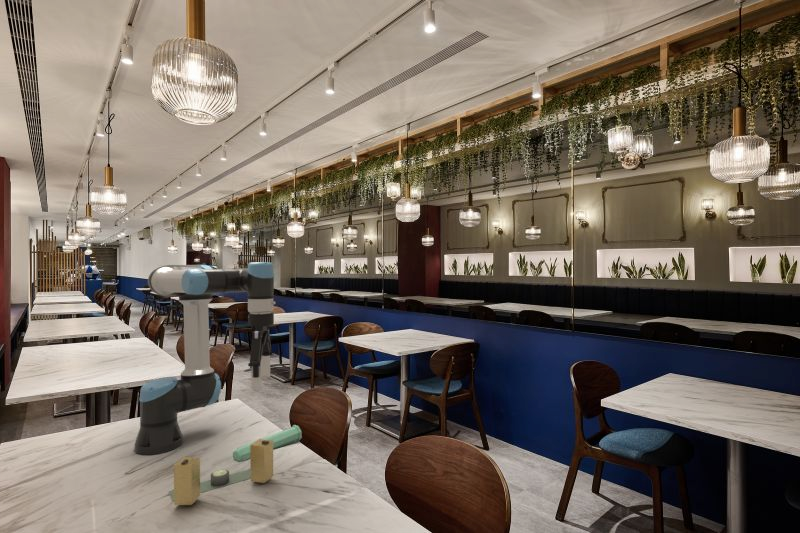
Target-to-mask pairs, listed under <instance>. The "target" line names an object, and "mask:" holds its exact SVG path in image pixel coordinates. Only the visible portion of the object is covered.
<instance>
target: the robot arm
mask: <svg viewBox="0 0 800 533" xmlns="http://www.w3.org/2000/svg"><path fill="white" fill-rule="evenodd" d="M274 278H275V273H274V264H273V263H272V262H269V261H267V262H265V261H261V262H259V261H258V262H255V261H254V262H248V264H247V268H243V267H237V268H213V267H212V266H210V265H206V264H168V265H162V266H159V267H157V268H155V269H153V270H152V271H151V272H150V274H148V278H147V285H148V288H149V289H150V291H152V292H153V293H154V294H157V295H158V296H163V297H178V302H179V303H181V305H183V340H184V341H183V343H184V369H183V370H182V372H181V373H180V379H177V377H175V376H167V377H159V378H155V379H153V380H150V381H147V382H146V383H144V384H143V385H142V386H141V388H140V393H139V399H138V400H139V421H140V422H139V424H140V425H139V430H138V433H137V436H136V439H135V440H134V453H137V454H138V455H145V456H146V455H148V456H149V455H151V456H152V455H156V454H157V455H158V454H162V453H167V452H169V451H173V450H175V449H177V448H179V447H180V446H181V445H183V443H184V436H183V433H182V430H181V428H180V425H179V422H178V413H179V414H180V413H182V412H187V411H192V410H195V409H199V408H206V407H207V406H210V405H214V404H215V403H216V402H217V401H218V399H220V395H221V391H222V381H221V379H220V376H219V374H218V373H215V369H214V368H212V367H211V365H210V364H211V360H210V358H211V357H210V324H209V323H210V321H209V304H210V302H211V301H212V300H213V295H216V294H227V293H228V294H229V293H231V294H232V293H233V294H234V293H247V311H248V315H247V323H248V324H247V325H248V326H249V327H253V328H255V329H254V331H251V346H250V355H249V356H250V357H249V363H248V364H247V365H248V367H251V370H250V371H251V389H262V387H263V386H262V382H263V380H262V378H263V377H265V378H266V377H271V356H273V354H274V352H273V351H272V345H271V334H270V327H271V326H273V325H274V323H275V317H274V316H275V315H274V312H273V311H274V308H275V307H274V305H276V304H277V303H276V301H274V296H275V292H274V289H275V287H274V286H275V285H274V283H275V282H274V280H275V279H274Z"/></svg>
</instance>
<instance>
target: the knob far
mask: <svg viewBox="0 0 800 533" xmlns="http://www.w3.org/2000/svg"><path fill="white" fill-rule="evenodd" d="M253 442H254V443H253V444H251V445H250V458H249V459H250V463H249V464H250V468H249V469H250V472H251V479H250V482H255V483H258V484H265V483H267V482H268V481H269V480H270V479H271V478H272V477H273V476H274V450H273V440H264V439H263V438H259V439H257V440H256V442H255V441H253Z"/></svg>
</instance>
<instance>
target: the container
mask: <svg viewBox="0 0 800 533" xmlns="http://www.w3.org/2000/svg"><path fill="white" fill-rule="evenodd" d="M302 436H303V434H302V429H301V428H300V426H299V425H296V424H293V425H292V426H291V427H290V428H287V429H284V430H281V431H279V432H277V433H274V434H272V435H268V436H266V437H263V438H262V439H264V440H273V451H274V450H277V449H280V448H283V447H285V446H287V445H289V444H292V443H294V442H299V441H300V440H302ZM256 441H257V440H256ZM256 441H252V442H249V443H247V444H245V445H242V446H239V447H237V448H236V449H235V450H234V451H233V453H232V455H233V456H232V458H233V460H235V461H237V462H243V461H245V460H248V459H250V445H251V444H253V443H254V442H256Z"/></svg>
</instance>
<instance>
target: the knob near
mask: <svg viewBox="0 0 800 533" xmlns="http://www.w3.org/2000/svg"><path fill="white" fill-rule="evenodd" d="M200 483H201V457H199V456H198V457H197V456H195V457H194V456H193V457H192V456H191V457H190V456H189V457H188V456H185V457H182V458H180V459H179V460H177V462H176V463H175V464H173V490H174V501H173V505H174V506H176V505H177V506H184V507H189V506H192V505H193V504H194V503H195V502H196V501H197V500H198V499H199V498H200V496H201V493H200Z"/></svg>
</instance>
